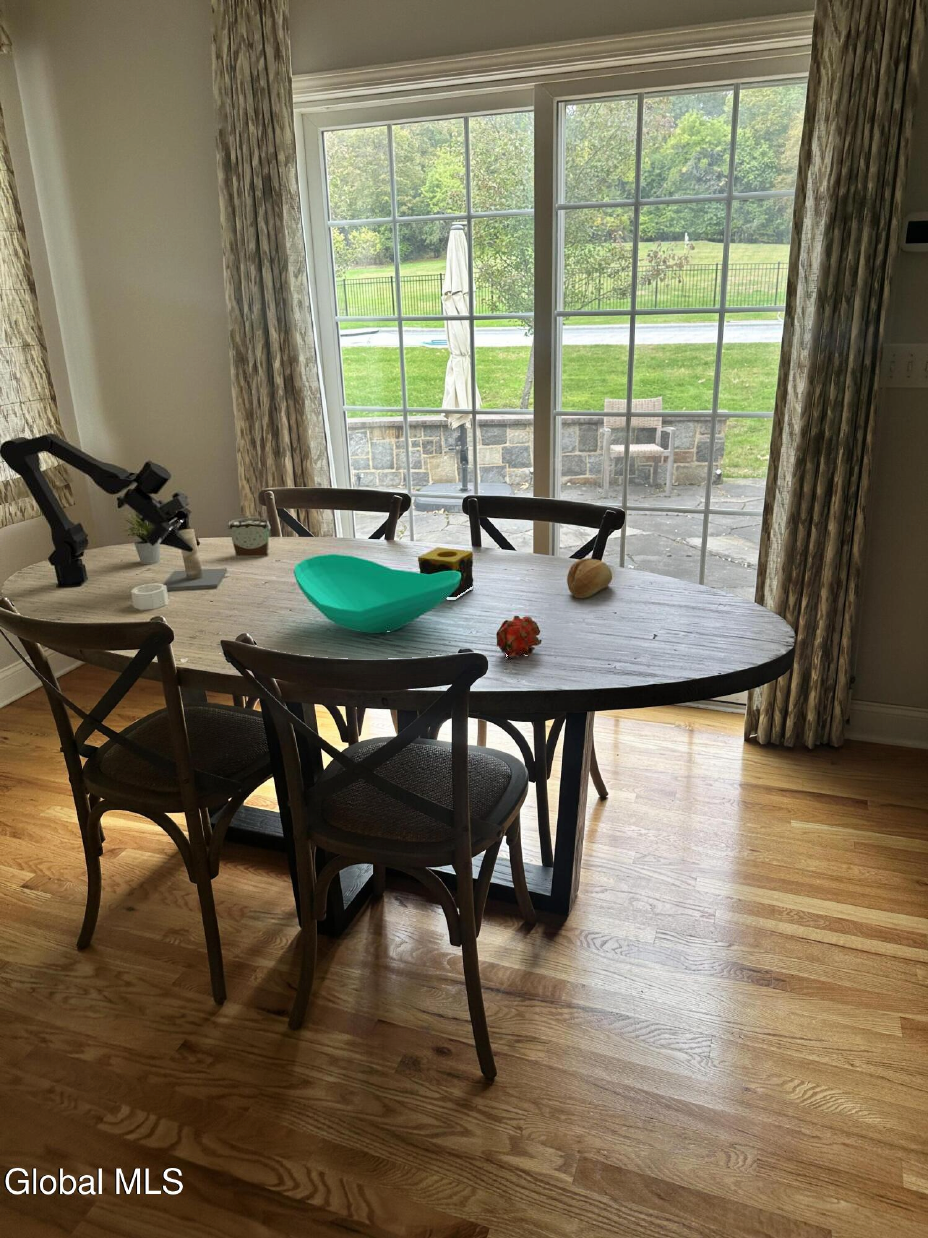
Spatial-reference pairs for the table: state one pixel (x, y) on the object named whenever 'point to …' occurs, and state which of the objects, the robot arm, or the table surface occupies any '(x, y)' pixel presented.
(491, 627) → the table surface
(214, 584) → the rubber mat
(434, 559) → the candle
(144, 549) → the house plant
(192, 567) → the birch peg
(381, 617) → the table top decor
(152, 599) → the holder cup
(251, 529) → the food container
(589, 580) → the bread roll
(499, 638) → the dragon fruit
